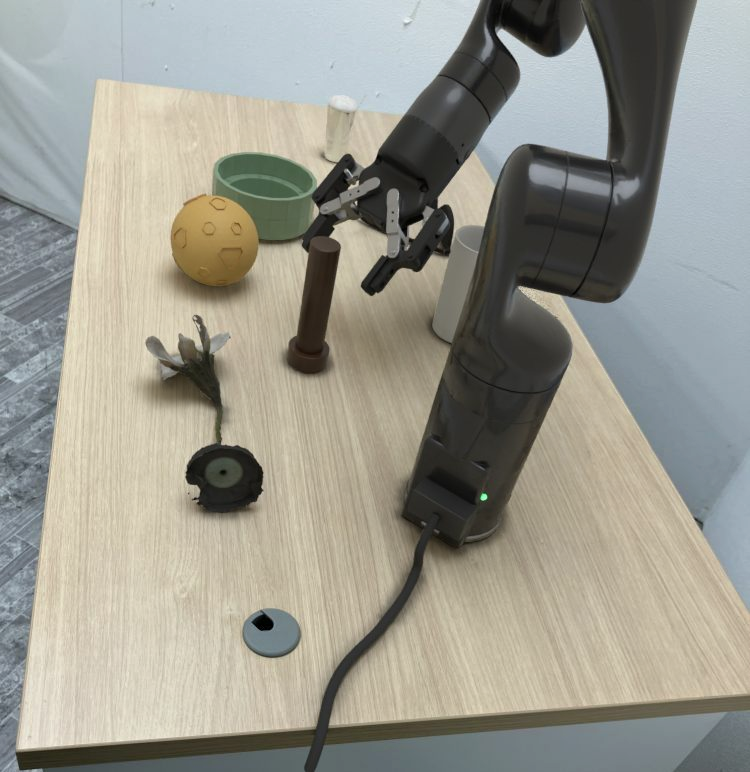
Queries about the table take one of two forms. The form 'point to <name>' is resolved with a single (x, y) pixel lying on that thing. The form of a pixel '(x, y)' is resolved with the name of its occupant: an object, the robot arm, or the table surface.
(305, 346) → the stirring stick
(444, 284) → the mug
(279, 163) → the bowl
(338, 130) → the milkshake
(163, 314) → the table surface
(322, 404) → the table surface
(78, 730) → the table surface
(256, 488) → the artificial flower
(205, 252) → the stress ball
